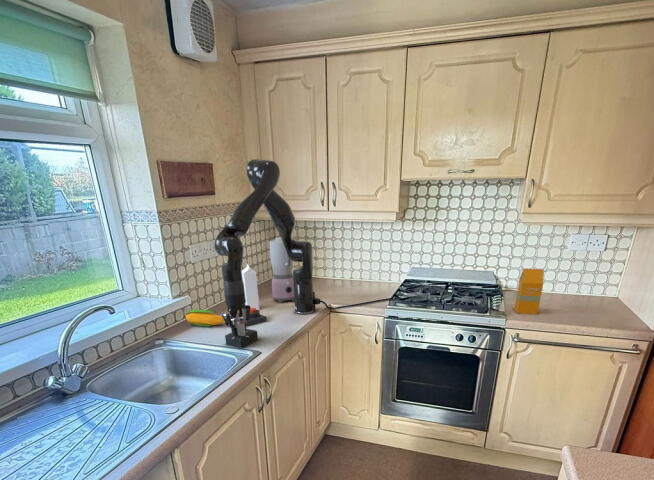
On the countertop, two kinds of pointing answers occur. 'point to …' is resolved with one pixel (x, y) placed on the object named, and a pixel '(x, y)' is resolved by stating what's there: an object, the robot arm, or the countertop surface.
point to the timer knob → (241, 328)
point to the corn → (203, 318)
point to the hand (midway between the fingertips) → (239, 334)
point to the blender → (281, 272)
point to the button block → (255, 318)
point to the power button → (252, 310)
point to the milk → (250, 287)
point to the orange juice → (529, 291)
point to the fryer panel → (242, 339)
